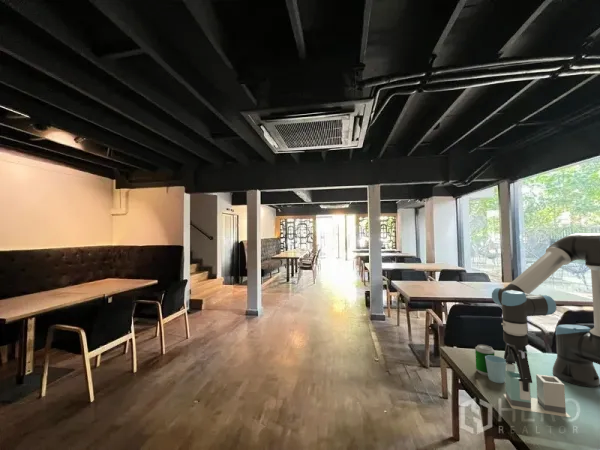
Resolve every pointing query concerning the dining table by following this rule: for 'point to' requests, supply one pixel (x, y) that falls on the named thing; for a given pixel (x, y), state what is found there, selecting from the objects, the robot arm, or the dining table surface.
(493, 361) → the cup
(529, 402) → the teal sleeve
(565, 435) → the dining table surface
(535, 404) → the pin board
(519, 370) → the robot arm
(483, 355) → the soda can
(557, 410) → the grey sleeve
